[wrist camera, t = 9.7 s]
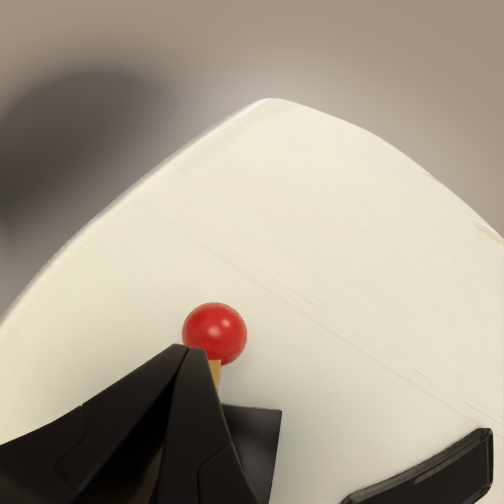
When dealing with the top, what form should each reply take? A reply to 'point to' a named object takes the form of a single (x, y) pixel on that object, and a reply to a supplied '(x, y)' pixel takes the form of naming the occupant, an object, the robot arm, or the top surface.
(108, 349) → the top surface
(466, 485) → the phone
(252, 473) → the bracket
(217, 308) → the lever
